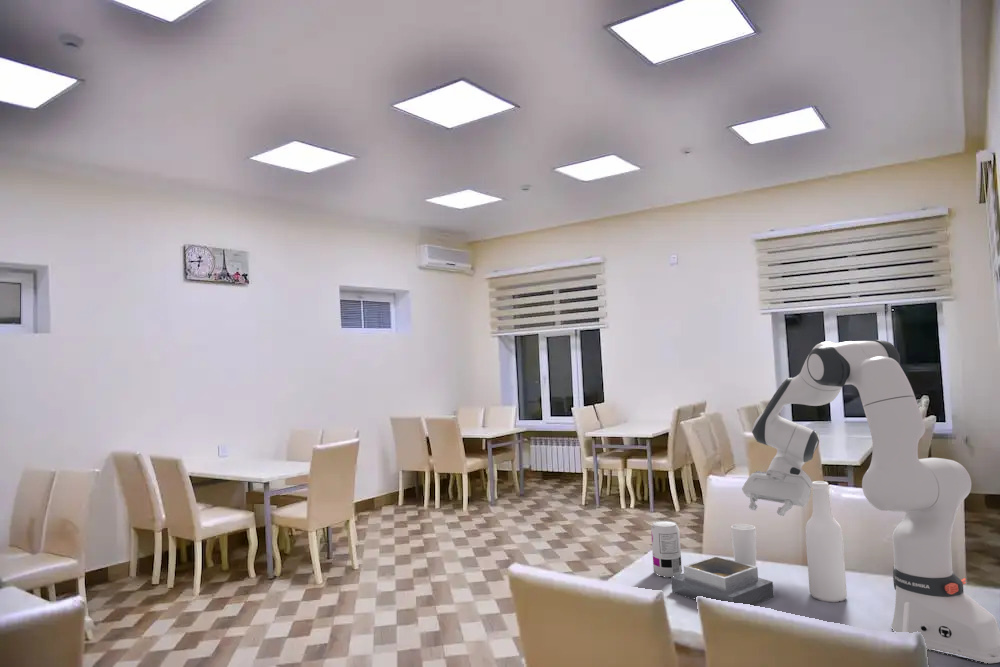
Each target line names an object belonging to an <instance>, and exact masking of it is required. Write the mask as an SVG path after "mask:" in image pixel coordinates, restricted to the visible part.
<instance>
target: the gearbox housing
mask: <svg viewBox="0 0 1000 667" xmlns="http://www.w3.org/2000/svg"><path fill="white" fill-rule="evenodd" d="M670 579H671V580H670V581H671V592H672V593H674V592H675V593H674V594H676V593H677V595H679V594H680V595H679V596H682V597H685V596H686V598H688V597H689V599H691V598H695V600H694V601H696V597H697V596H703V597H706V598H711V599H716V600H721V601H728V602H734V603H743V604H750V605H753V606H754V605H755V606H756V605H757V604H760V603H762V602H765V601H767V600H769V599H771V598H774V596H775V595H774V584H773V583H774V582H773V581H772V580H768V579H764V578H762V577H759V572H758V567H757V566H756V567H755V566H752V565H748V564H744V563H741V562H737V561H735V560H734V559H729V558H726V557H722V556H719V555H718V556H717V555H714V556H710V557H707V558H704V559H701V560H697V561H695V562H693V563H689V564H686V565H683V573H681V574H680V575H677V576H674V577H671V578H670Z"/></svg>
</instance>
